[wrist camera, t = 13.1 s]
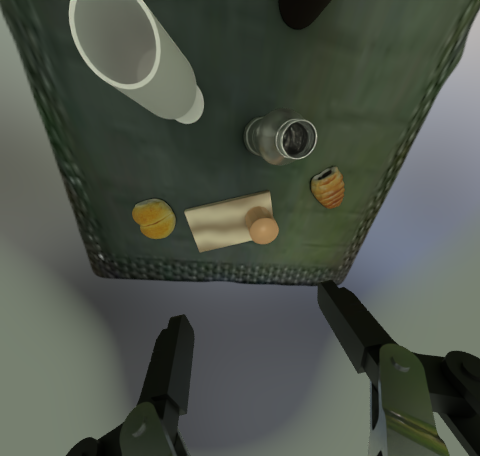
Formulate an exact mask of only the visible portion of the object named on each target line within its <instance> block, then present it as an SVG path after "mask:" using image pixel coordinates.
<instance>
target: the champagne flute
mask: <svg viewBox="0 0 480 456" xmlns="http://www.w3.org/2000/svg"><path fill="white" fill-rule="evenodd" d="M69 23H70V28H71V32H72V36H73V39H74V41H75V44H76V47H77V48H78V50H79V52H80V54H81V56H82V58H83V59H84V60H85V62H86V63H87V65H88V66H89V67H90V68H91V69H92V70H93V71H94V72H95V74H97V75H98V76H99V77H100V78H102V79H103V80H104V81H106V82H107V83H109V84H110V85H112V86H113V87H115V88H116V89H118V90H119V91H121V92H122V93H124V94H125V95H127V96H128V97H130V98H131V99H133V100H134V101H136V102H137V103H138V104H140V105H141V106H143V107H144V108H146V109H147V110H149V111H150V112H152V113H154V114H155V115H157V116H159V117H162V118H165V119H175V120H177V121H178V122H181V123H184V124H191V123H194V122H195V121H197V120H198V119H199V118H200V116H201V115H202V112H203V109H204V99H203V95H202V93H201V91H200V89H199V87H198V86H197V85H196V78H195V75H194V72H193V69H192V67H191V65H190V63H189V62H188V60H187V59H186V57H185V56H184V55H183V53H182V52H181V51H180V49H179V48H178V47H177V45H176V44H175V43H174V41H173V40H172V39H171V37H170V36H169V35H168V33H167V32H166V31H165V29H164V28H163V27H162V25H161V24H160V23H159V21H158V20H157V19H156V17H155V16H154V15H153V13H152V12H151V11H150V9H149V8H148V7H147V5H146V4H145V3H144V1H143V0H70V6H69Z"/></svg>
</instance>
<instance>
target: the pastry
mask: <svg viewBox="0 0 480 456" xmlns="http://www.w3.org/2000/svg"><path fill="white" fill-rule="evenodd" d="M342 179H343V175H342V174H341V173H340V172H339V170H338V168H337V167H332V168H328V169H326V170H324V171H323V172H322V173H321V174H319V175H316V176H315V177H313V179H312V181H311V190H312V193H313V194H314V196H315V197H316V199H317V200H318V201H319V202H320V203H321V204H322V205H323V206H325V207H326V208H334V207H337V206H339V205H340V204H341V202H342V199H343V197H344V193H343V192H344V191H345V189H344V182H343V181H342Z"/></svg>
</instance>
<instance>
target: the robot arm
mask: <svg viewBox="0 0 480 456" xmlns="http://www.w3.org/2000/svg"><path fill="white" fill-rule="evenodd" d="M318 304H319V307H320V309H321V311H322V313H323V315H324V316H325V318H326V320H327V321H328V323H329V325H330V326H331V328H332V330H333V332H334V333H335V335H336V337H337V338H338V340H339V342H340V344H341V345H342V347H343V349H344V350H345V352H346V354H347V356H348V357H349V359H350V361H351V362H352V364H353V366H354V368H355V369H356V371H357V373H363V372H366V374H367V375H368V377H369V379H370V436H369V446H368V456H449V452H448V449H447V447H446V445H445V443H444V441H443V440H442V439H440V437H439V436H438V433H437V430H436V425H435V420H434V415H433V412H438V414H439V415H440V416H441V418H442V419H443V420H444V422H445V423H446V425H447V426H448V427H449V428H450V430H451V431H452V433H453V434H454V435H455V437H456V438H457V440H458V441H459V442H460V443H461V445H462V446H463V448H464V449H465V450H466V452H467V453H468V454H469V456H480V359H479V358H478V357H476V356H473V355H471V354H469V353H466V352H462V351H451V352H449V353H448V354H447V355H446V356H445V357H439V356H431V355H422V354H417V353H413V352H411V351H409V350H408V349H406V348H404V347H403V346H400V345H398V344H397V343H396V342H395V341H394V340H393V339H392V338H391V337H390V336H389V335H388V334H387V332H386V331H385V330H384V329H383V328H382V326H381V325H380V324H379V323H378V322H377V321H376V319H375V318H374V317H373V316H372V315H371V313H370V312H369V311H367V309H366V308H365V307H364V305H363V304H361V302H360V301H359V299H358V298H357V297H356V296H355V295H354V293H352V292H351V291H349V290H348V289H346V288H345V287H342V288H338V287H337V285H336V284H335V283H334V282H333V281H332V280H328V281H324V282H320V283H318ZM193 348H194V331H193V328H192V326H191V325H190V323H189V321H188V319H187V317H186V316H185V315H184V314H183V315H179V316H175V317H171V318H170V320H169V324H168V328H167V329H163V330H162V331H161V333H160V335H159V336H158V338H157V339H156V343H155V346H154V350H153V353H152V357H151V362H150V364H149V367H148V371H147V374H146V378H145V381H144V385H143V388H142V392H141V395H140V398H139V401H138V403H137V405H136V407H135V408H134V409H133V410H132V411H131V412H130V413H129V415H128V416H127V418H126V419H125V421H124V422H123V423H122V424H121V425H119V426H118V427H116V428H115V429H114V430H112V431H111V432H109V433H107V434H106V435H104V436H103V437H101V438H100V439H98V440H96V439H94V438H92V437H88V438H85V439H83V440H81V441H80V442H79V443H77V444H76V445H75V446H74V447H73V448H72V449H71V450H70V451H69V452H68V454H67V455H66V456H190V454H189V452H188V449H187V447H186V445H185V442H184V440H183V438H182V436H181V433H180V431H179V429H178V427H177V426H178V419H179V416H180V415H184V414H187V406H188V396H189V387H190V377H191V367H192V358H193Z"/></svg>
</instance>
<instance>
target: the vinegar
mask: <svg viewBox="0 0 480 456" xmlns="http://www.w3.org/2000/svg"><path fill="white" fill-rule="evenodd" d="M330 1H331V0H279V6H280V12H281V14H282V17H283V19H284V21H285V22H286V23H287V24H288V26H290V27H292V28H294V29H302V28H305V27H307V26H309V25H310V24H311V23H312V22H313V21H314V20H315V19H316V18H317V17H318V15H319V14H320V13H321V12H322V11H323V10H324V8H325V7H326V6H327V5H328V4H329V3H330Z"/></svg>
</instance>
